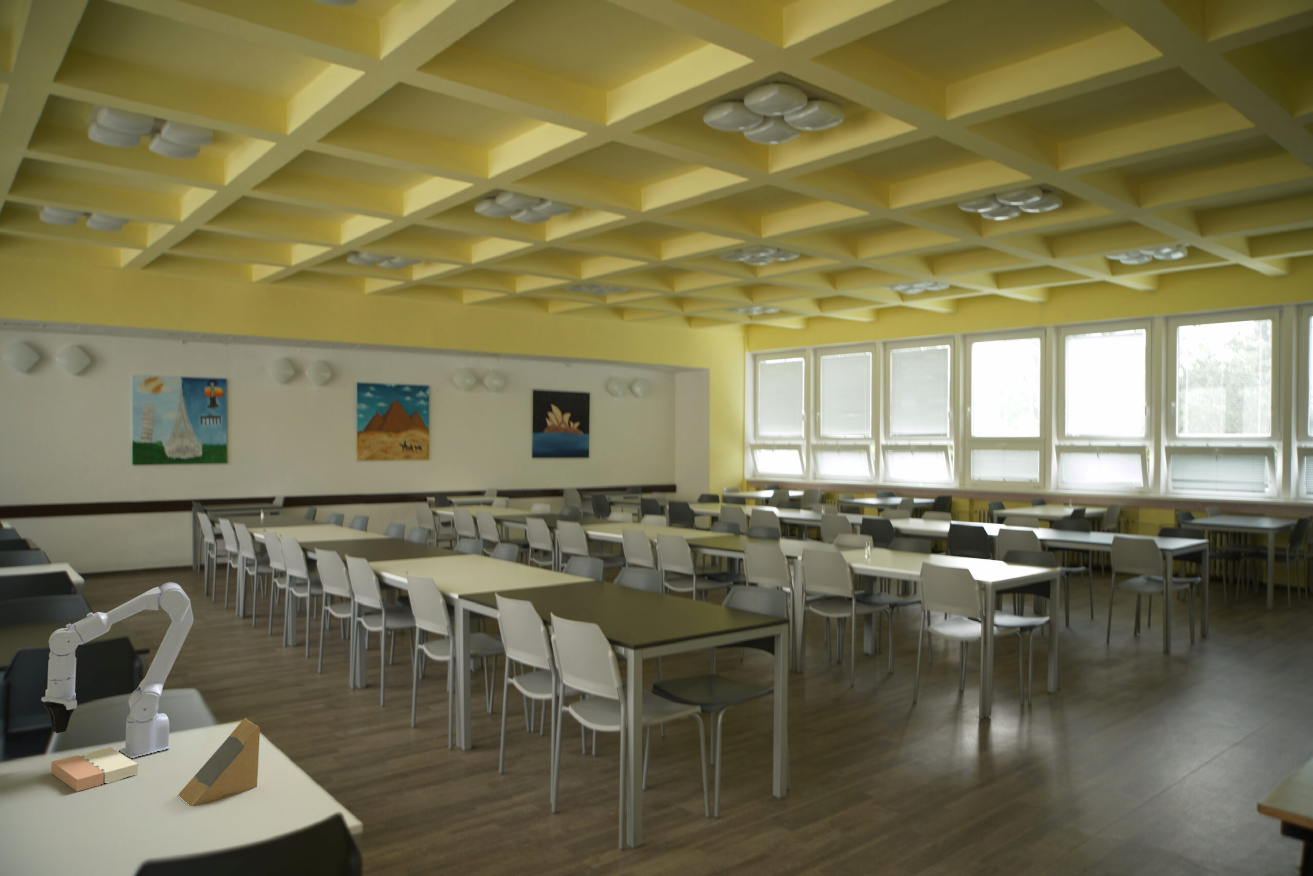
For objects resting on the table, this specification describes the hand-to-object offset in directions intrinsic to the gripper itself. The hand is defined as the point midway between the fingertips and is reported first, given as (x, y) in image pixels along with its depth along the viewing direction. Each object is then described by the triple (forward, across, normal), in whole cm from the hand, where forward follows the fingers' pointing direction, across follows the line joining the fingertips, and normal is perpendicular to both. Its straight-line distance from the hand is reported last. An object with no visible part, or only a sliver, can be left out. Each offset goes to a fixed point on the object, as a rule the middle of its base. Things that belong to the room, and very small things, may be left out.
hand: (59, 731), depth 211 cm
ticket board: (+8, +12, +6) cm, 16 cm away
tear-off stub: (+8, +12, 0) cm, 15 cm away
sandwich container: (+9, +43, +18) cm, 48 cm away
